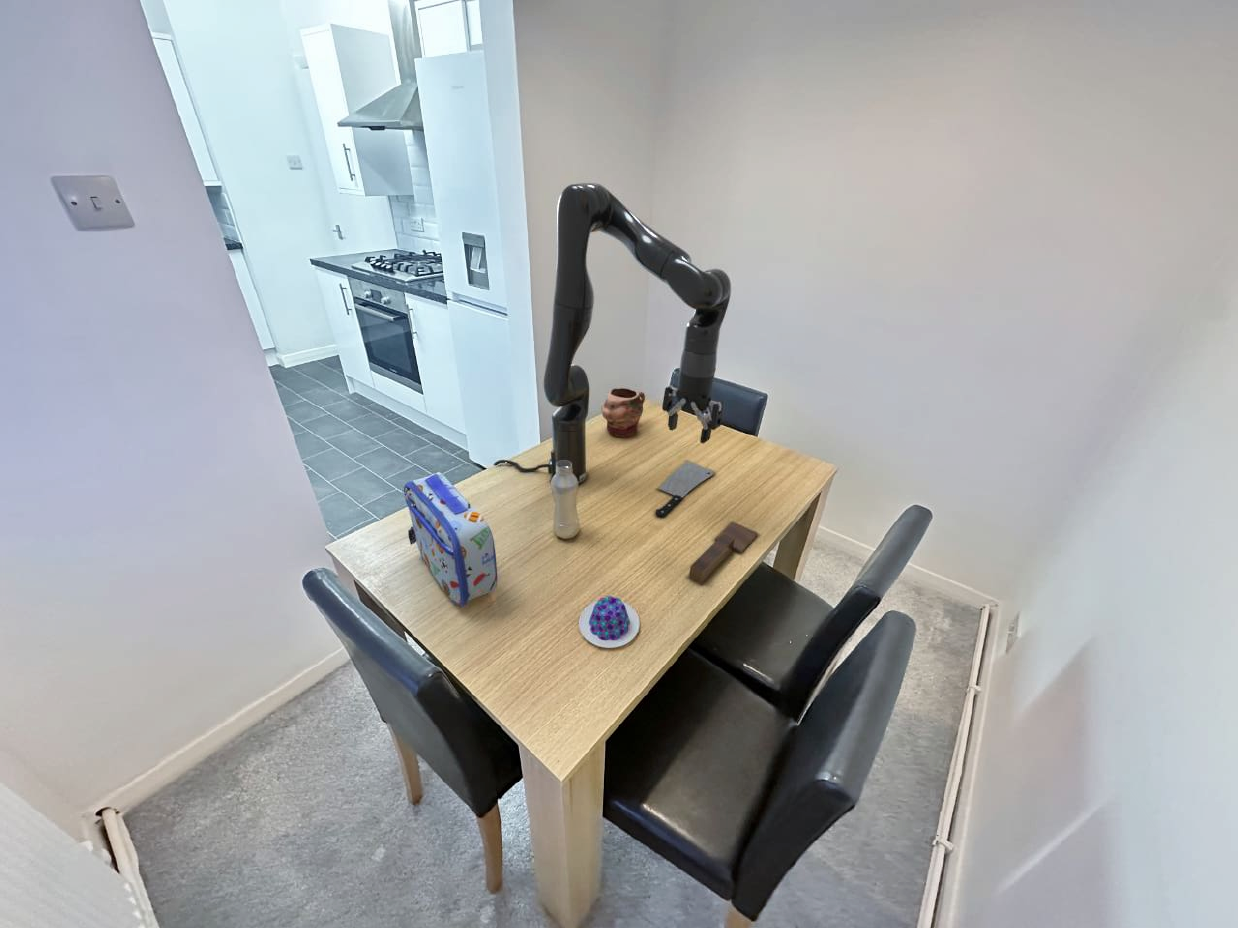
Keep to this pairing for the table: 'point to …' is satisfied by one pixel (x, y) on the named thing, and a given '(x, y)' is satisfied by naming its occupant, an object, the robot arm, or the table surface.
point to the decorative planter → (623, 411)
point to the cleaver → (682, 484)
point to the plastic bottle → (565, 500)
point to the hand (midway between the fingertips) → (688, 435)
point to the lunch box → (451, 538)
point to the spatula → (721, 550)
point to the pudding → (609, 622)
